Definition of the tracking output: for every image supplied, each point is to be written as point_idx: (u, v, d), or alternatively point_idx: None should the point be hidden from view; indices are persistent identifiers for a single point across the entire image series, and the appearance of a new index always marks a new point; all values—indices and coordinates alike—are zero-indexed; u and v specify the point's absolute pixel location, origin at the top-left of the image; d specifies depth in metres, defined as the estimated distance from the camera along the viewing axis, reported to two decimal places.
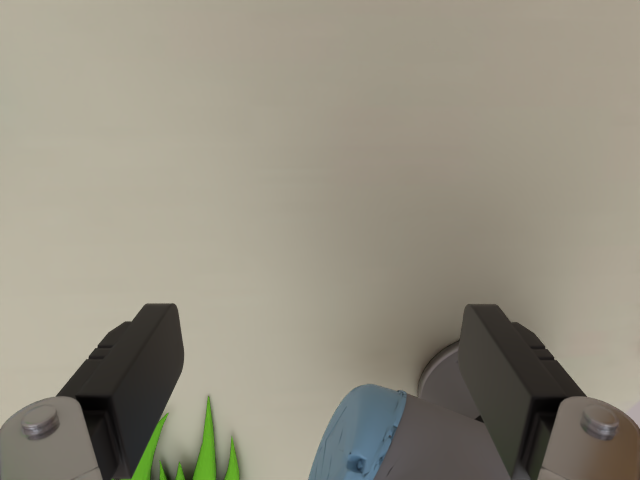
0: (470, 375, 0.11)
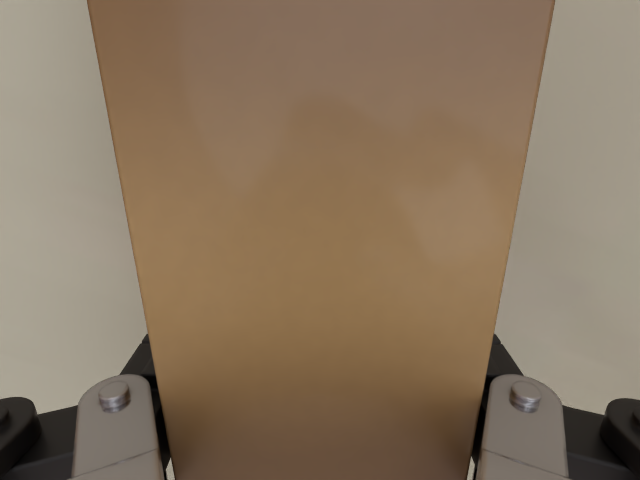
0: None
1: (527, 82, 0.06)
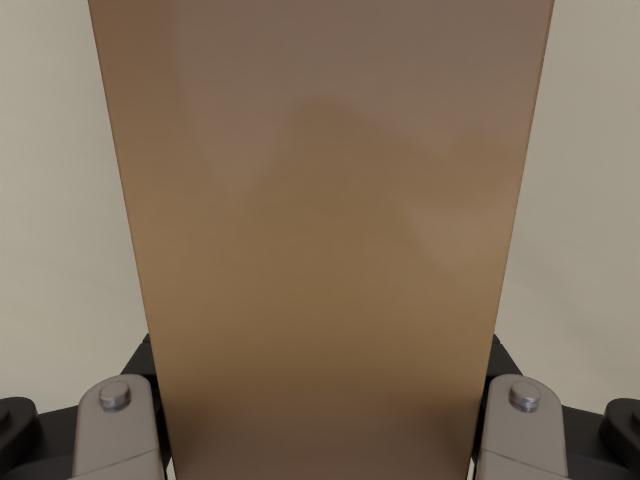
0: None
1: (527, 81, 0.06)
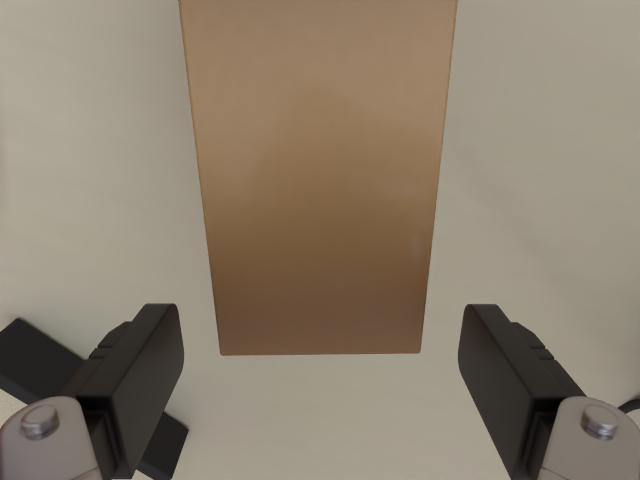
0: (470, 375, 0.11)
1: None
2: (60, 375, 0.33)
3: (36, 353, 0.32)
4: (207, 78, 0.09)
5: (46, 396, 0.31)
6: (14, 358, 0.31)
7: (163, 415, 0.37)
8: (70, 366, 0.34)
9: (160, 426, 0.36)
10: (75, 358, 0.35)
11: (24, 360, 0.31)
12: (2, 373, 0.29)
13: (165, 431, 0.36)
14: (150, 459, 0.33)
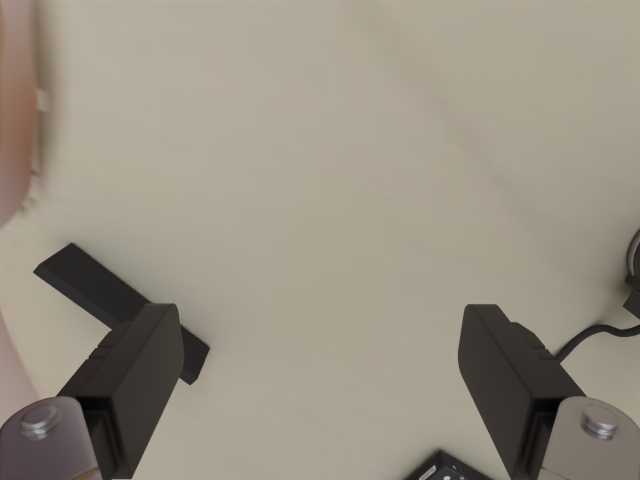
0: (470, 375, 0.11)
1: None
2: (107, 289, 0.39)
3: (87, 270, 0.39)
4: None
5: (97, 302, 0.37)
6: (71, 271, 0.38)
7: (189, 333, 0.44)
8: (114, 284, 0.40)
9: (187, 340, 0.43)
10: (117, 279, 0.41)
11: (79, 273, 0.38)
12: (63, 279, 0.36)
13: (191, 345, 0.43)
14: None
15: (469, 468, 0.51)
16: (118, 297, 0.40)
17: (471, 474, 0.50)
